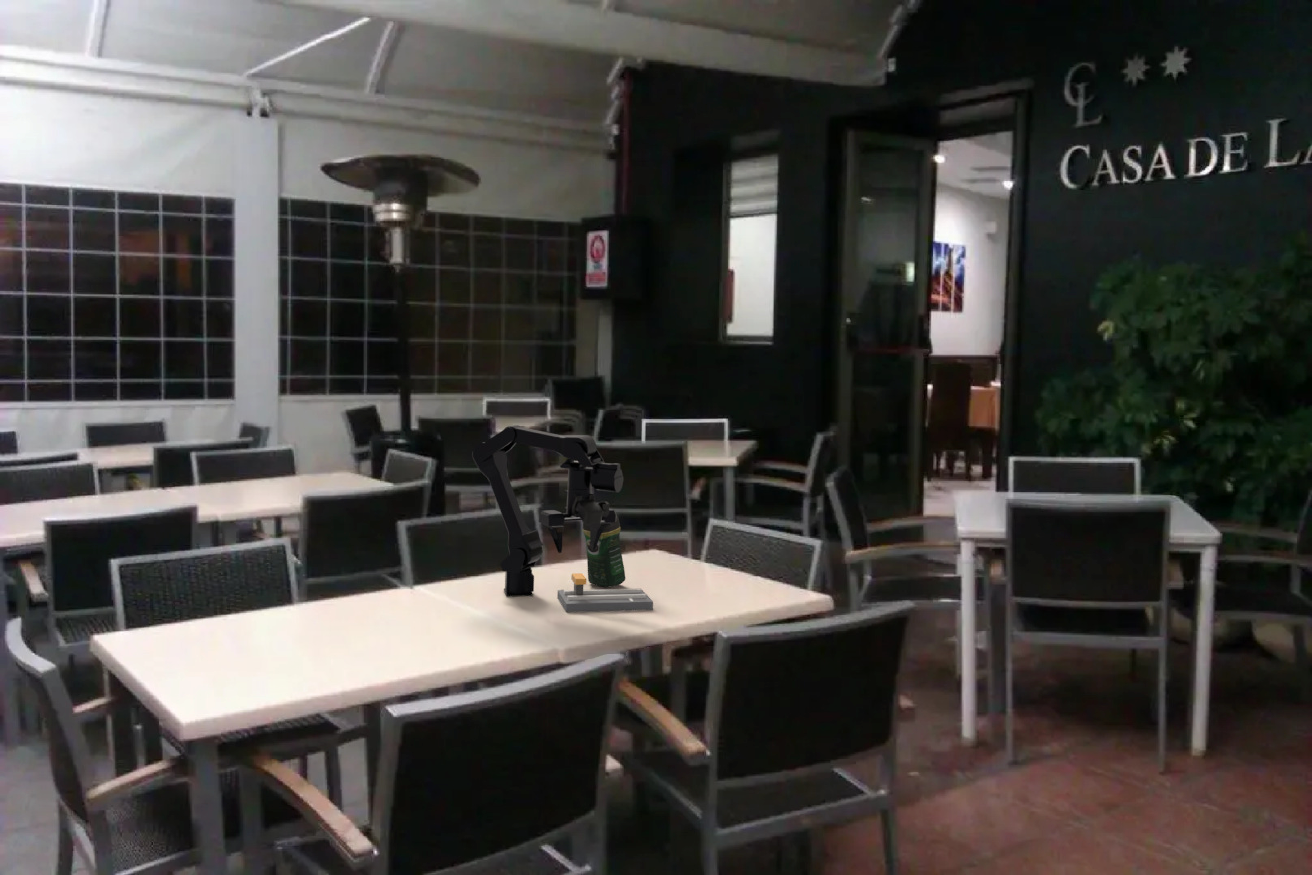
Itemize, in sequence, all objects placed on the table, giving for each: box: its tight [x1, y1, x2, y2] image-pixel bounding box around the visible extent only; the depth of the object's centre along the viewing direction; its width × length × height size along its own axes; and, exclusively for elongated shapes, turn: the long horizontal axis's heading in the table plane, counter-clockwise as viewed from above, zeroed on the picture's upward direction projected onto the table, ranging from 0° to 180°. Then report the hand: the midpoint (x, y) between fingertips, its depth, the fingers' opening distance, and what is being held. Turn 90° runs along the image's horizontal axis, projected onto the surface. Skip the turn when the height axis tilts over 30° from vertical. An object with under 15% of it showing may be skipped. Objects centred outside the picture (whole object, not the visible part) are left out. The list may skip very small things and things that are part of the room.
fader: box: [571, 572, 587, 596], centre depth 270 cm, size 3×6×5 cm, turn 14°
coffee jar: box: [582, 516, 626, 588], centre depth 289 cm, size 10×8×19 cm
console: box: [557, 587, 654, 613], centre depth 272 cm, size 21×13×3 cm, turn 104°
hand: (576, 551), depth 272 cm, fingers open, 9 cm apart
